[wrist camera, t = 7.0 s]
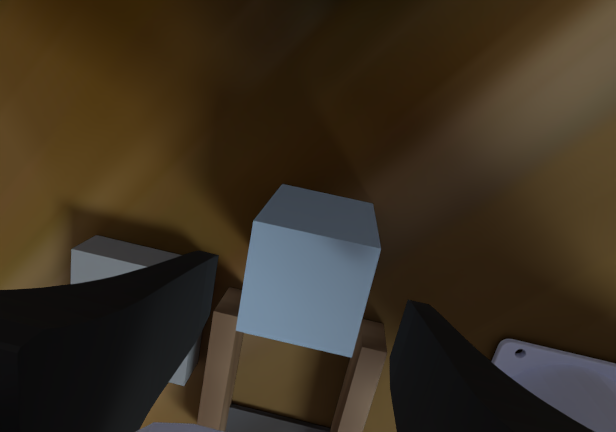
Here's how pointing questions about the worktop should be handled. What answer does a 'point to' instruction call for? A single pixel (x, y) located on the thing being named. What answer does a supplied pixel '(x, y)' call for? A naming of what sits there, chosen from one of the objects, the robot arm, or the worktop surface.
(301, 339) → the block
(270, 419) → the channel
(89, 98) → the worktop surface
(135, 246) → the stand
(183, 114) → the worktop surface
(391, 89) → the worktop surface
